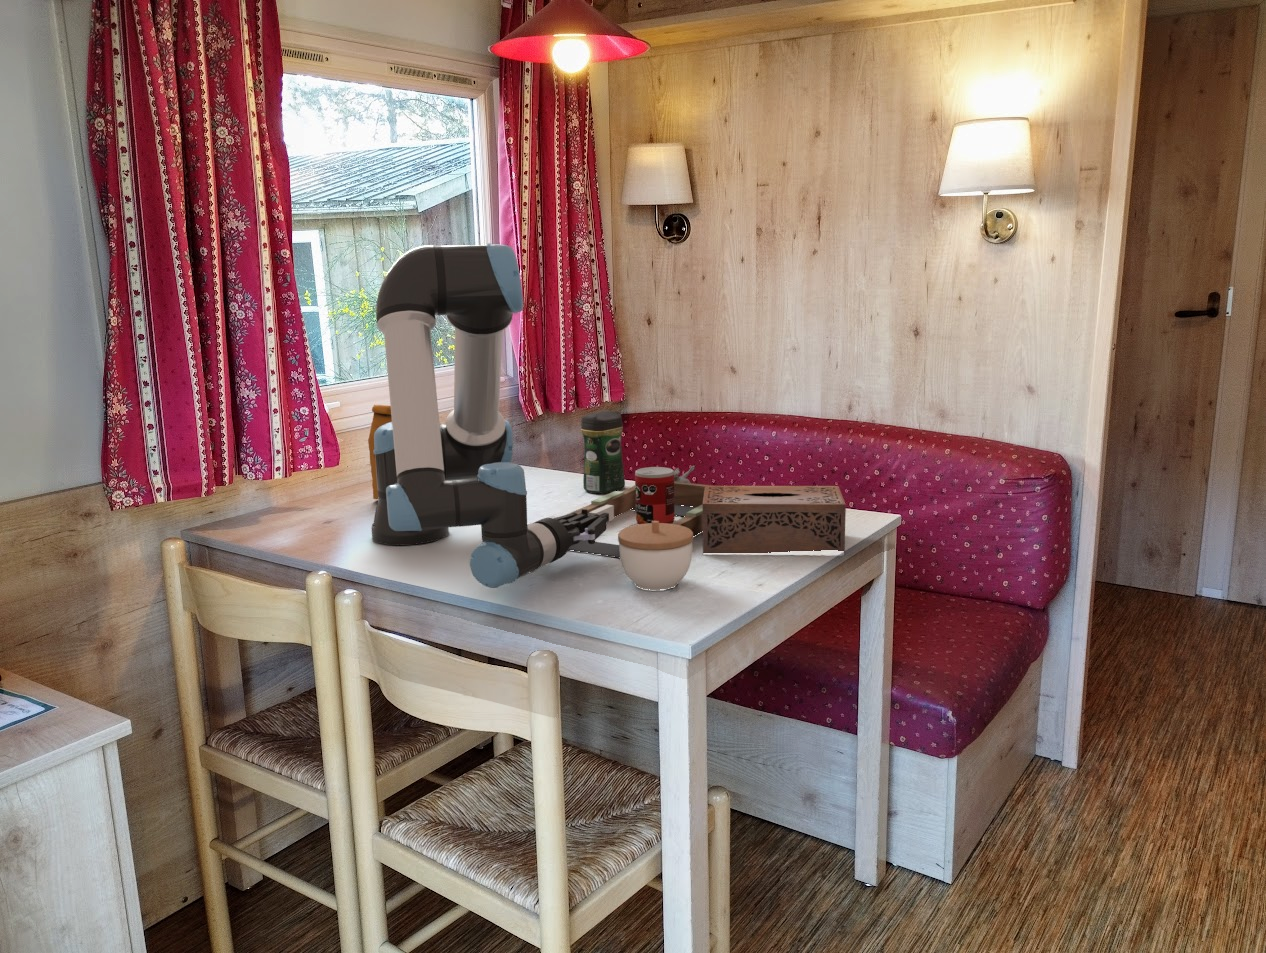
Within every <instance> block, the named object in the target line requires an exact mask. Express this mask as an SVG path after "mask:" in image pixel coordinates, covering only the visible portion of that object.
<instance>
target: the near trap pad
mask: <svg viewBox="0 0 1266 953" xmlns="http://www.w3.org/2000/svg"><path fill="white" fill-rule="evenodd" d="M568 550H574V551H580V552H579V553H581V552H588V553H594V554H601V555H608V556H615V557H620V552H619V544H614V543H606V542H601V541H600V542H599V541H595V543H594V544H589V543H588V542H585V540H580V542H579V543H578V544H573V545H571V546H570V547H569V549H568ZM574 551H573V552H574ZM594 554H593V555H594ZM601 555H600V556H601Z"/></svg>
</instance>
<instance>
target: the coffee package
mask: <svg viewBox="0 0 1266 953" xmlns="http://www.w3.org/2000/svg"><path fill="white" fill-rule="evenodd" d="M371 412H373V417H372V422H371V425H370V430H369V436H368V440H367V441H368V442H367V444H368V450H369V465H370V473H371V478H372V481H371V482H372V485H371V486H372V499H373V500H378V489H377V475H376V460H375V454H374V452H373V451H374V434H375V431H376V430H377V429H378V428H379V427H380V426H382V425H384V424H387V423H390V422H392V416H391V405H382V404H374V405H373V406H372V408H371Z"/></svg>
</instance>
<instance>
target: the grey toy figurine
mask: <svg viewBox="0 0 1266 953" xmlns="http://www.w3.org/2000/svg"><path fill="white" fill-rule="evenodd" d="M695 468H696V466H695V465H692V466H689V470H688V471H686V472H685V473H683V474H681V475H680V473H681V471H680V468H679V467H676V468H675V469H674V482H684V483H691V481H690V479H688V478H687V477H689V474H690V473H692V472H693V471H694V469H695ZM679 475H680V476H679Z"/></svg>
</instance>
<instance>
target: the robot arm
mask: <svg viewBox="0 0 1266 953" xmlns="http://www.w3.org/2000/svg"><path fill="white" fill-rule="evenodd" d="M523 295H524V293H523V287H522V280H521V274H520V270H519V263H518V258H517V255H516V253H515V251H514V249H513V248H512V247H511V246H509V245H506V244H491V242H488V243H486V244H479V245H476V244H475V245H473V244H472V245H468V244H466V245H460V244H459V245H433V244H432V245H431V244H430V245H429V244H427V245H422V246H418V247H417V246H416V247H415V248H412V249H410V250H408V251H406V252H405V253H404V254H403V255H401V256H399V258H398V259H397V260H396V261H395V262H394V263H393V264H392V266H390V268H389V269H388V271H387V272H386V275H385V276H384V279H383V280H382V282H381V285H380V288H379V291H378V294H377V298H376V304H375V306H376V307H375V314H376V316H375V318H376V319H375V320H376V327H377V328H376V329H378V330H379V332H381V333H382V334H383V335H384V336H383V337H384V338H383V339H384V349H385V358H386V367H387V370H386V371H387V382H388V383H387V384H388V392H389V402H390V405H389V406H391V416H392V422H390V423H387V424H384V425H382V426H380V427H379V428H378V429H377V430H376V431H375V434H374V451H373V452H374V454H375V460H376V475H377V489H378V499H377V505H376V508H375V512H374V518H373V523H372V524H371V539H372V540H373V541H374V542H376V543H378V544H381V545H388V546H410V545H411V546H412V545H421V544H427V543H431V542H435V541H438V540H440V539H444V538H445V537H446V536H448V535H449V528H458V527H471V526H481V527H480V529H481V531H480V532H481V543H480V544H479V545H478V546H476V547H475V548H474V549H473V550H472V553H471V555H470V558H469V567H470V572H471V574H472V576H473V577H474V579H475V580H476V581H477V582H478V583H479V584H480V585H482V586H484V587H487V588H489V589H491V588H493V589H495V588H499V587H503V586H505V585H508V584H513V583H514V582H515V581H516V580H518V579H519V578H522V577H524V576H525V575H528V574H530V573H534V572H535V571H536V570H539V569H540V568H542V567H544V566H546V565H548V564H551V563H553V562H555V561H557V560H559V559H561V558H563V557H564V556H565V555H566V554H567V553H568V552H569V551H568V549H569V547H570V546H571V545H573V544H578V543H579V542H580V540H585V542H588V543H589V544H594V543H595V542H596V540H597V539H598V538H599V537H600V536H601V535H602V534H604V533H605V532H606V531H607V523H609V522H611V521H613V520H615V517H614V505H605V506H603V507H600V508H598V509H596V510H593V511H591V512H589V513H588V510H587V509H582V514H579V515H578V513H571V512H570V513H571V514H569V513H567V514H564V515H560V516H557V517H544V518H542V519H540V520H539V519H538V520H536V521H534V522H532V523H529V524H528V503H527V495H528V491H527V486H526V476H525V470H524V468H523V467H522V466H521V465H520V464H518V463H514V462H512V460H513V455H514V451H513V447H514V436H513V429H512V425H511V423H510V422H509V420H507V419H505V417H504V416H503V414H502V413H501V412H500V411H499V410H500V393H501V390H500V389H501V376H502V375H501V374H502V358H503V355H502V353H503V341H504V340H503V338H504V337H503V336H504V331H505V330H507V328H508V327H509V326H510V324H511V323H512V321H513V314H518V313H521V312H522V311H523V309H524V296H523ZM436 316H446V320H447V321H448V323H449V324H450V325H451V326H452V327H453V328H454V367H453V368H454V374H453V375H454V377H453V378H454V383H453V384H454V385H453V386H454V388H453V409H452V410H451V411H450V412H449V413H448V415H447V417H446V420H445V423H440V415H439V405H438V404H439V403H438V396H437V382H436V375H435V364H434V352H433V345H432V344H433V342H432V334H431V332H432V330H433V329H434V328H435V326H436V323H437V321H436Z"/></svg>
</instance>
